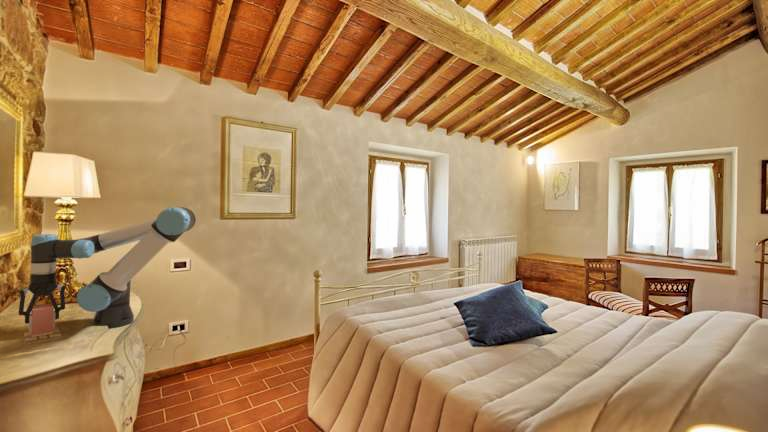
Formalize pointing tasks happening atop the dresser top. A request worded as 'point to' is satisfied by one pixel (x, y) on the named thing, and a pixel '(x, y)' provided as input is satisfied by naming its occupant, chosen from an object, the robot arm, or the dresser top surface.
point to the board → (41, 337)
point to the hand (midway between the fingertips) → (42, 329)
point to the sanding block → (42, 320)
